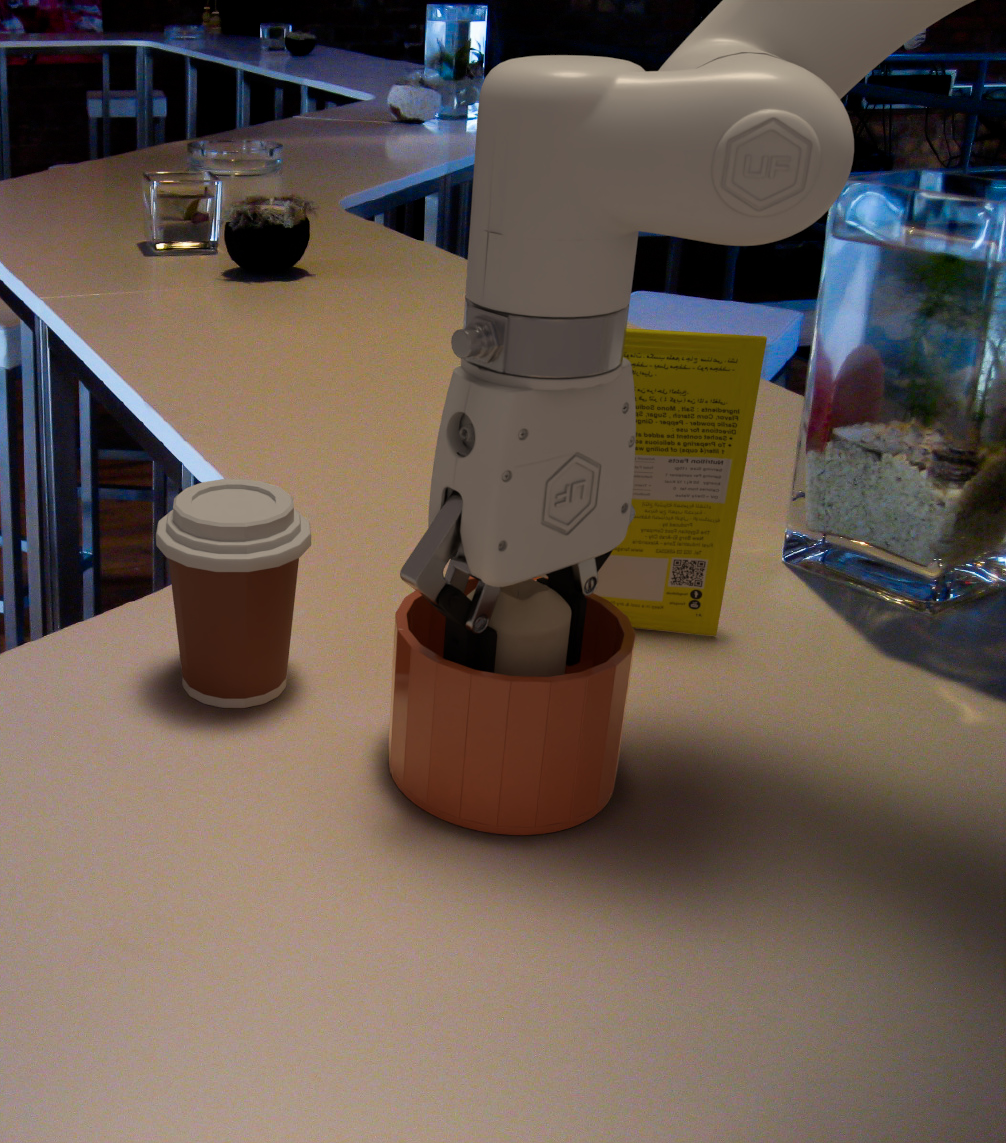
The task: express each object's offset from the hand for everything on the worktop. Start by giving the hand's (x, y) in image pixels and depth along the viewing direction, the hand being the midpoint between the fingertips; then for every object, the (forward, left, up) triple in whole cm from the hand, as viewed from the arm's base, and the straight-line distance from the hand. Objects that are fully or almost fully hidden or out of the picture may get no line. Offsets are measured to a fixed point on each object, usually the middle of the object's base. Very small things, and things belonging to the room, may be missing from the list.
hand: (511, 668), depth 71 cm
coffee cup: (+7, -16, -6) cm, 19 cm away
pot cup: (0, 0, -6) cm, 6 cm away
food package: (-17, -9, -6) cm, 20 cm away
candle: (0, 0, -5) cm, 5 cm away
